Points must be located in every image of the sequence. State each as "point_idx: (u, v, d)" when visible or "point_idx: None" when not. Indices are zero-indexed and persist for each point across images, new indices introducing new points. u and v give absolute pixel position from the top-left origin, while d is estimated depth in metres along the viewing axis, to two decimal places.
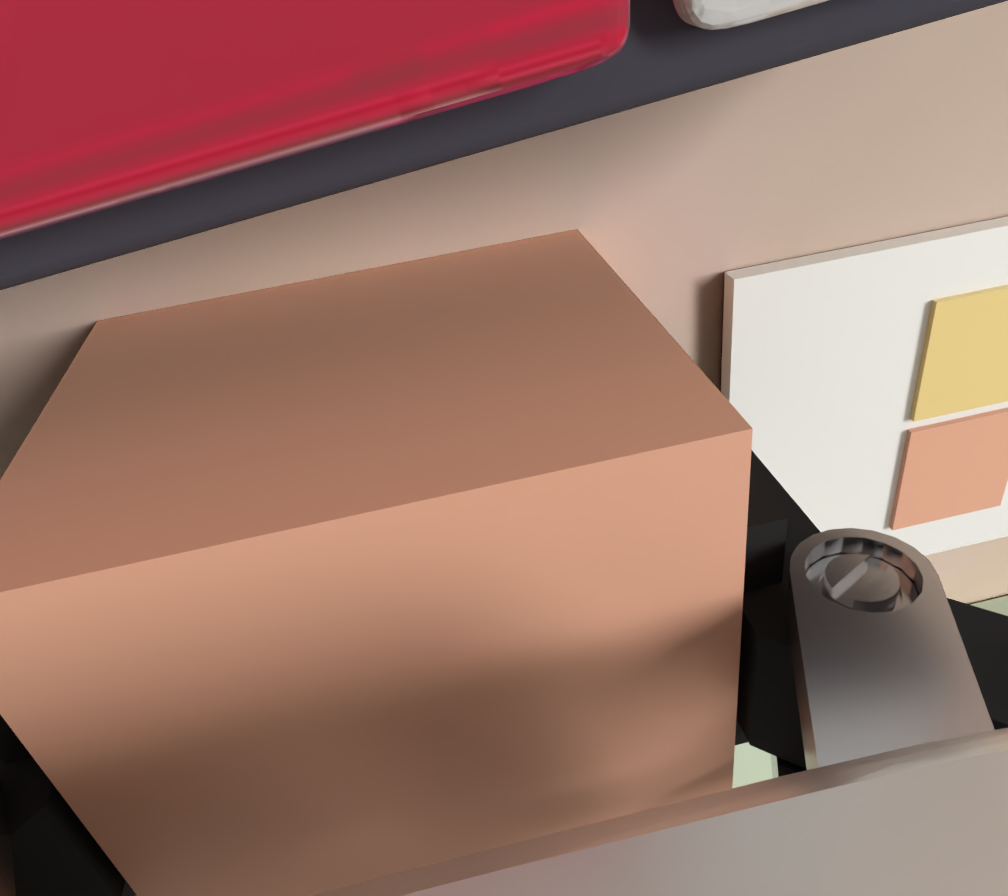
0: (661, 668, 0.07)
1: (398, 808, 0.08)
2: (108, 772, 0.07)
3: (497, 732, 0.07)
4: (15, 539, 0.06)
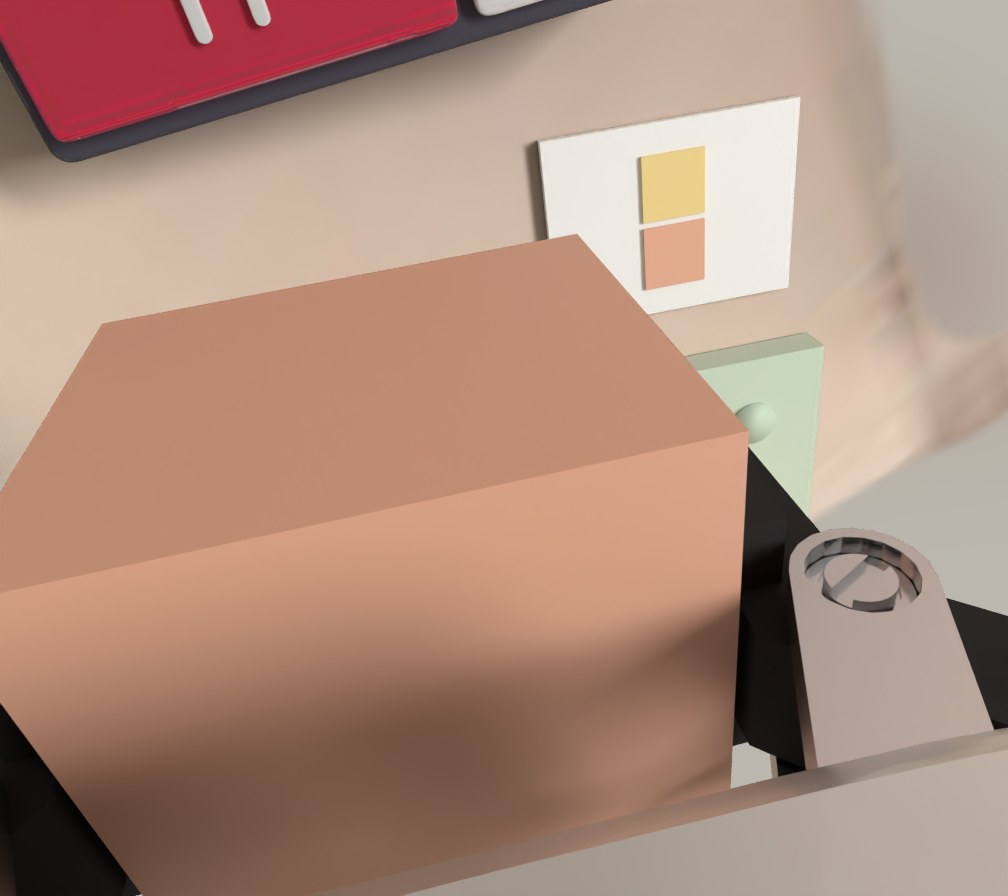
0: (659, 668, 0.07)
1: (399, 807, 0.08)
2: (112, 769, 0.07)
3: (496, 730, 0.07)
4: (22, 541, 0.06)
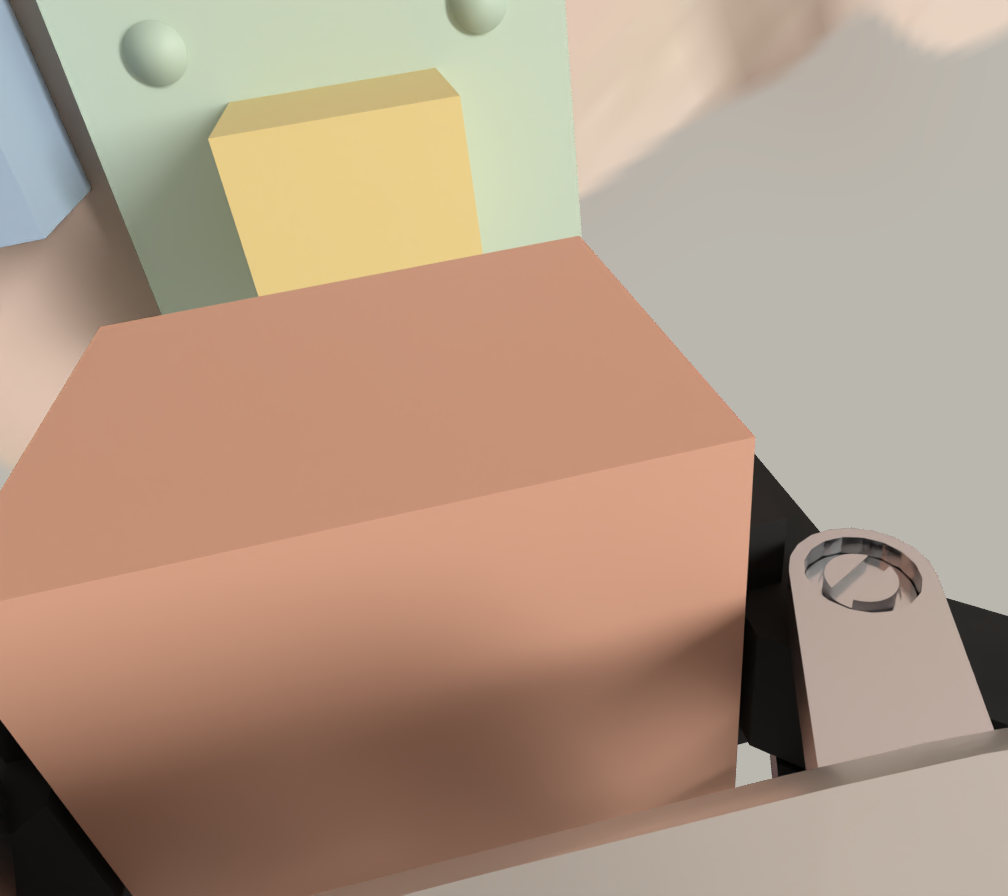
0: (663, 675, 0.07)
1: (400, 816, 0.08)
2: (109, 780, 0.07)
3: (498, 739, 0.07)
4: (19, 547, 0.06)
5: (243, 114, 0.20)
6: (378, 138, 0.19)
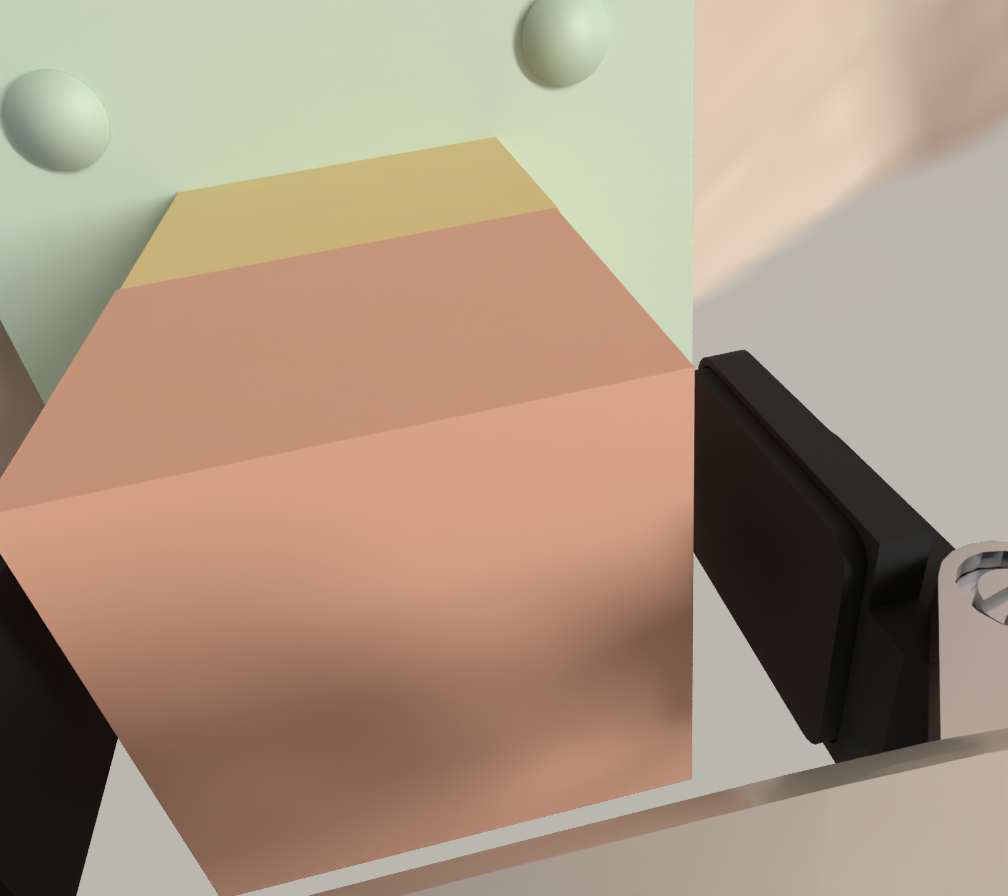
0: (622, 590, 0.08)
1: (389, 719, 0.08)
2: (132, 675, 0.07)
3: (475, 646, 0.08)
4: (55, 464, 0.07)
5: (192, 225, 0.13)
6: None
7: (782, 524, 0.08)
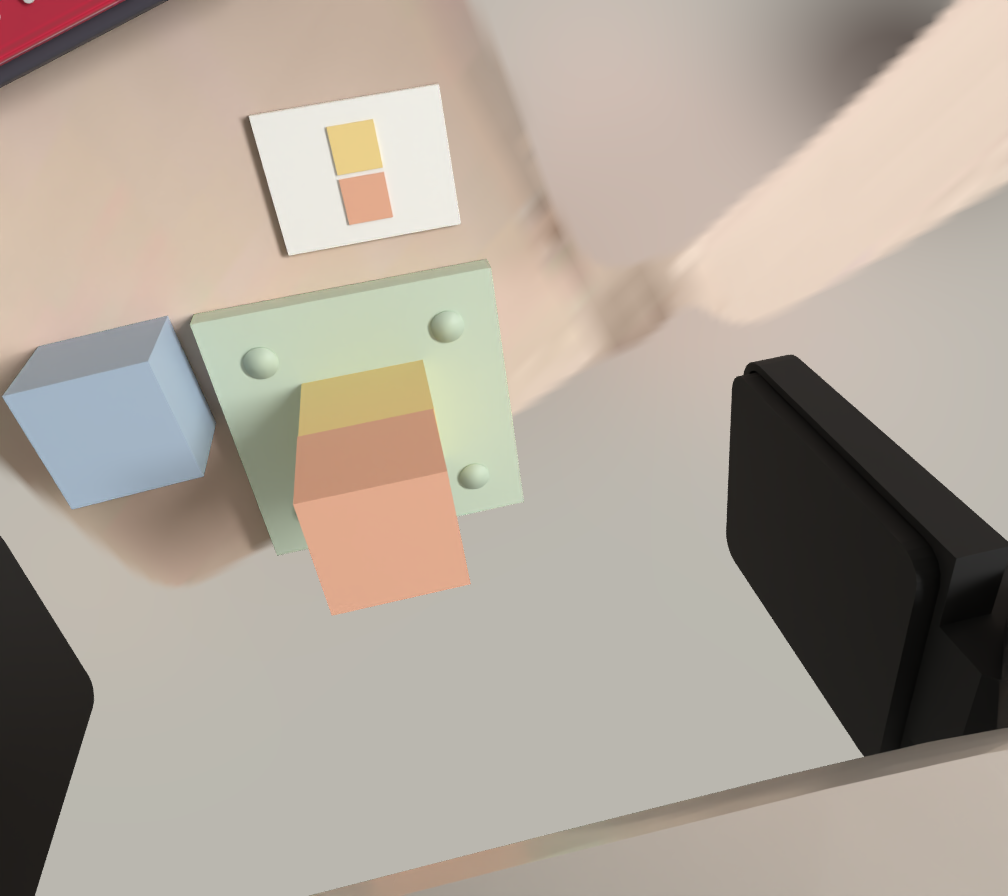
0: (438, 523, 0.32)
1: (379, 558, 0.32)
2: (318, 542, 0.31)
3: (401, 537, 0.32)
4: (305, 493, 0.31)
5: (313, 406, 0.36)
6: None
7: (842, 535, 0.08)
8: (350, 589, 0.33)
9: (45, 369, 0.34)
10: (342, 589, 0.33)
